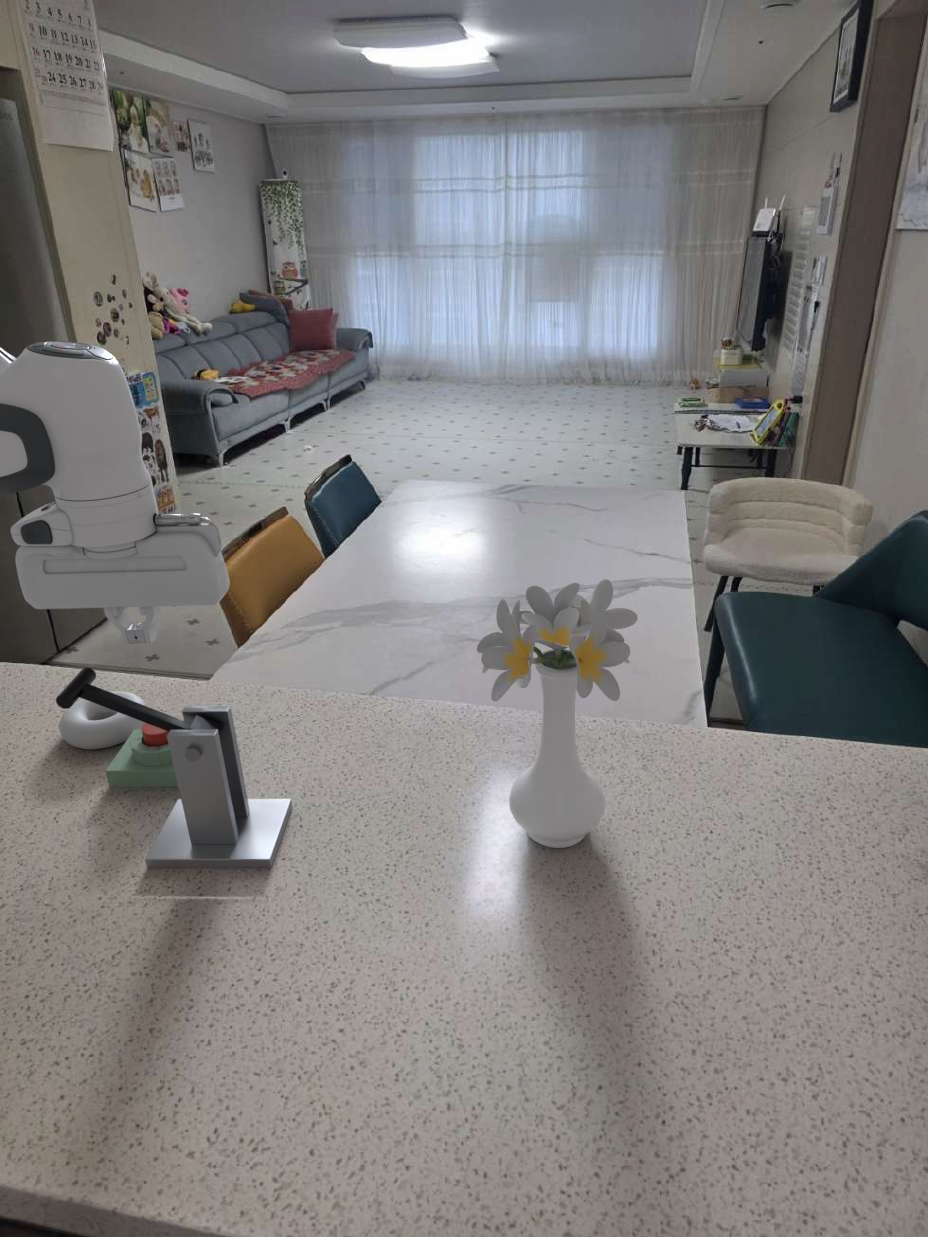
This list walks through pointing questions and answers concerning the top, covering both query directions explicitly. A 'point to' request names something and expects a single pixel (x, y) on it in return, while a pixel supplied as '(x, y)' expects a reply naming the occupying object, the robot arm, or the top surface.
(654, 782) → the top surface
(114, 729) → the donut
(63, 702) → the lever
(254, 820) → the bracket
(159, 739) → the button
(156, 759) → the button box
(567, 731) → the flower vase
